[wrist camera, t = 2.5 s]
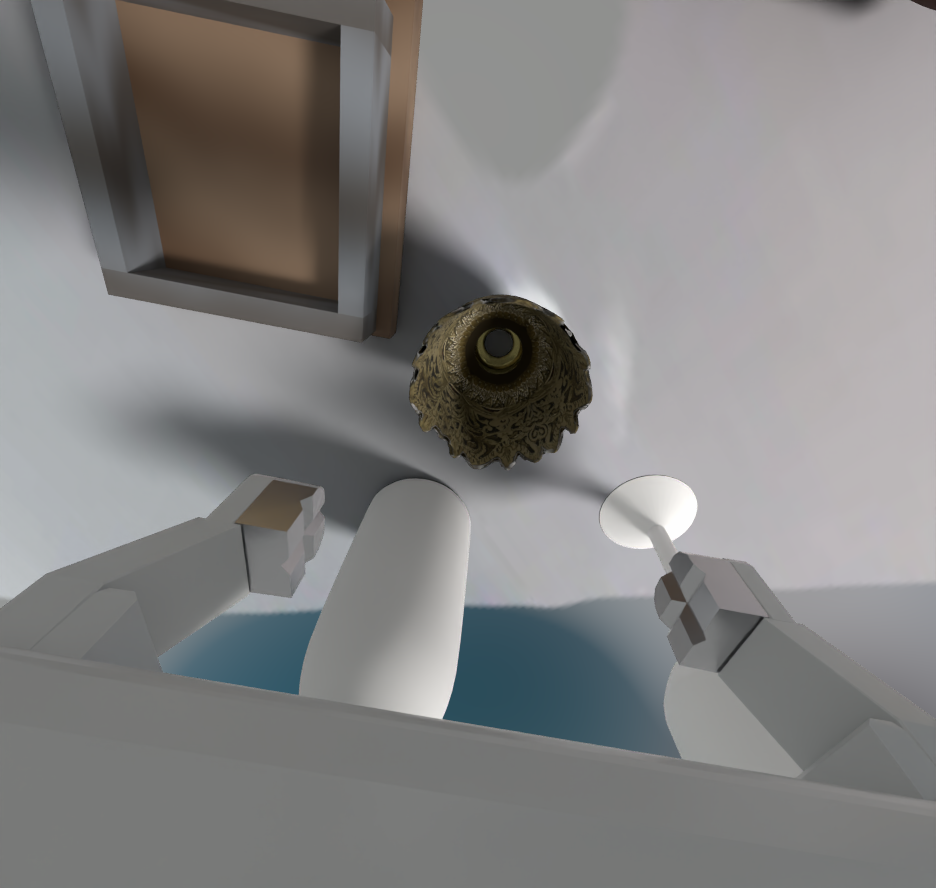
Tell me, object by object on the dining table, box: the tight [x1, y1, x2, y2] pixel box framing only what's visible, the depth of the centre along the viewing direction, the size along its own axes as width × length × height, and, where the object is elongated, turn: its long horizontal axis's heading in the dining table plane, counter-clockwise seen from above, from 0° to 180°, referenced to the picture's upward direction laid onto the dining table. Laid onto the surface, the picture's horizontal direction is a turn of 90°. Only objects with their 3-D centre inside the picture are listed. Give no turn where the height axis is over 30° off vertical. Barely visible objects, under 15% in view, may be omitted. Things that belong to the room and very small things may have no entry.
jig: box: [30, 0, 423, 343], centre depth 17 cm, size 17×14×4 cm
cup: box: [409, 295, 592, 470], centre depth 20 cm, size 8×7×8 cm
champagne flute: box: [600, 475, 804, 778], centre depth 18 cm, size 7×7×24 cm
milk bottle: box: [299, 478, 471, 719], centre depth 21 cm, size 8×8×20 cm
